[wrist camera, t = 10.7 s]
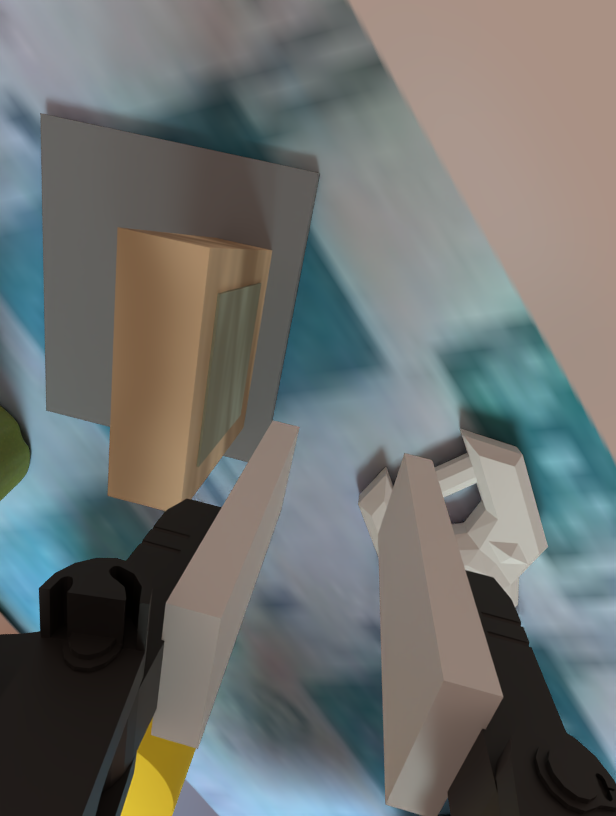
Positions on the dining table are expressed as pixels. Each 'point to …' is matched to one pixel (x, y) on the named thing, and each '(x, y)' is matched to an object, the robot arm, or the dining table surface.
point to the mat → (163, 212)
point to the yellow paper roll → (157, 776)
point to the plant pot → (11, 454)
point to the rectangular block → (180, 359)
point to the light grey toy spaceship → (480, 510)
